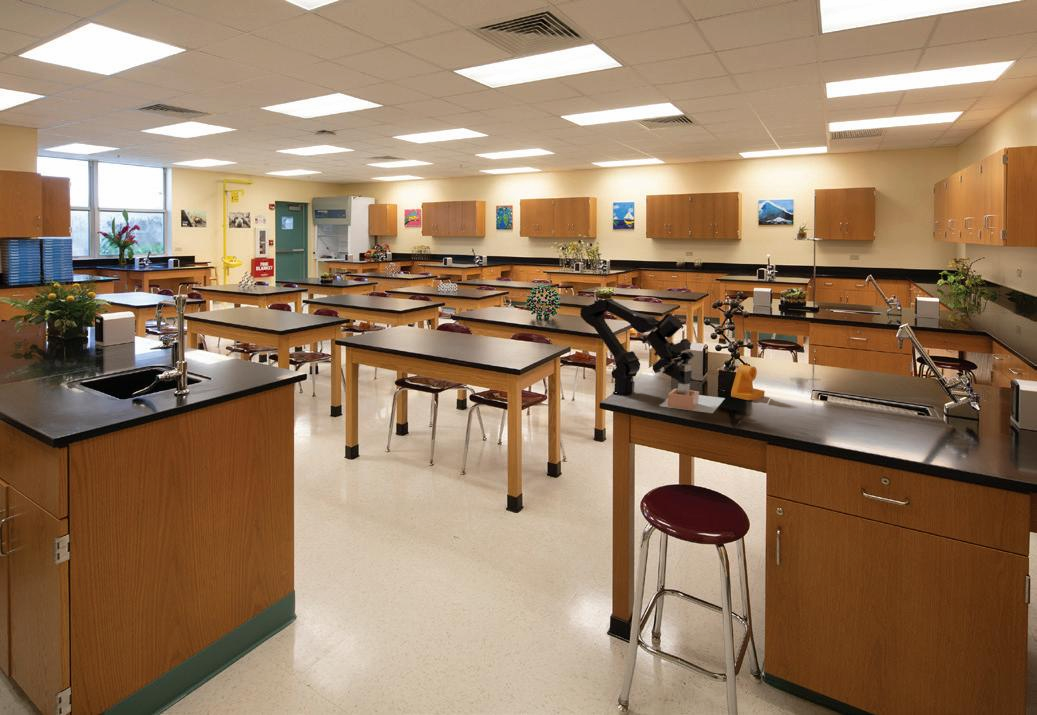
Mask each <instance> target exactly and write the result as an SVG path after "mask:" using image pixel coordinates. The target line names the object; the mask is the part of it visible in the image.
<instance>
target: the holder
mask: <svg viewBox="0 0 1037 715" xmlns="http://www.w3.org/2000/svg"><path fill="white" fill-rule="evenodd" d="M699 395H700V392H699V391H696V390H691V389H690V390H689V396H688V395H680V394H678V388H673V389H672V390H671V391H670V392H668V393H667V399H668V407H667V408H670V407H675V408H674V409H677V408H683V409H682V410H685V409H690V410H689V411H692V410H693V409H694V408H695V407H696V406H697V405H698V399H699Z"/></svg>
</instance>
